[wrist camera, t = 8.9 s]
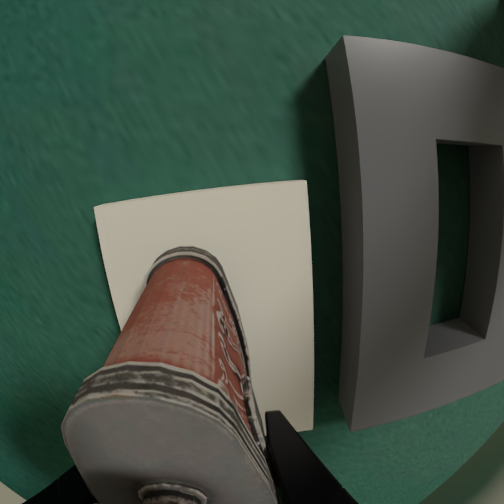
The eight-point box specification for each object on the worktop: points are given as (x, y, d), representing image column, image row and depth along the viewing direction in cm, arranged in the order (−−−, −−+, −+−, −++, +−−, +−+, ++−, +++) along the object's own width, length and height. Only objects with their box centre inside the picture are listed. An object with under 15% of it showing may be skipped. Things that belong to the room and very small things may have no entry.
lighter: (260, 416, 13) (307, 628, 3) (185, 426, 12) (181, 635, 3) (229, 238, 10) (312, 601, 1) (132, 254, 10) (-64, 522, 1)
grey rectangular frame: (498, 84, 11) (529, 78, 8) (483, 358, 15) (505, 379, 12) (325, 57, 11) (343, 35, 8) (337, 399, 15) (350, 431, 12)
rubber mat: (301, 179, 12) (306, 180, 11) (309, 416, 15) (313, 429, 14) (104, 204, 12) (93, 207, 11) (163, 426, 15) (159, 438, 14)
